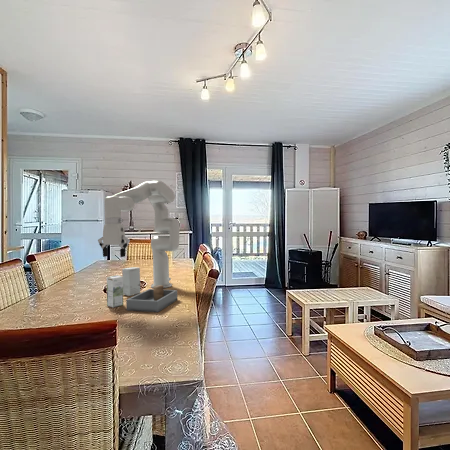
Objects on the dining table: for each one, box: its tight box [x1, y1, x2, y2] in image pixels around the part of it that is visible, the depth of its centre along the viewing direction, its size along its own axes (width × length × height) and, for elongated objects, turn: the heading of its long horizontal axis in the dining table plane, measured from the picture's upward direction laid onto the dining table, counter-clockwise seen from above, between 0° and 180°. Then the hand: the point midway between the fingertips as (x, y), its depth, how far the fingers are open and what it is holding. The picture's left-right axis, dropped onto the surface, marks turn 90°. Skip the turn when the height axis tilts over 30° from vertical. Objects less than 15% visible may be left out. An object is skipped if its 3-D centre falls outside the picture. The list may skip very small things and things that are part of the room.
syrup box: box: [106, 274, 124, 309], centre depth 157 cm, size 6×6×14 cm
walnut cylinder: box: [152, 285, 165, 301], centre depth 163 cm, size 5×5×7 cm
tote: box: [125, 288, 178, 313], centre depth 158 cm, size 22×16×5 cm
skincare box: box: [121, 266, 141, 297], centre depth 181 cm, size 8×6×15 cm
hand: (114, 256), depth 157 cm, fingers open, 9 cm apart
